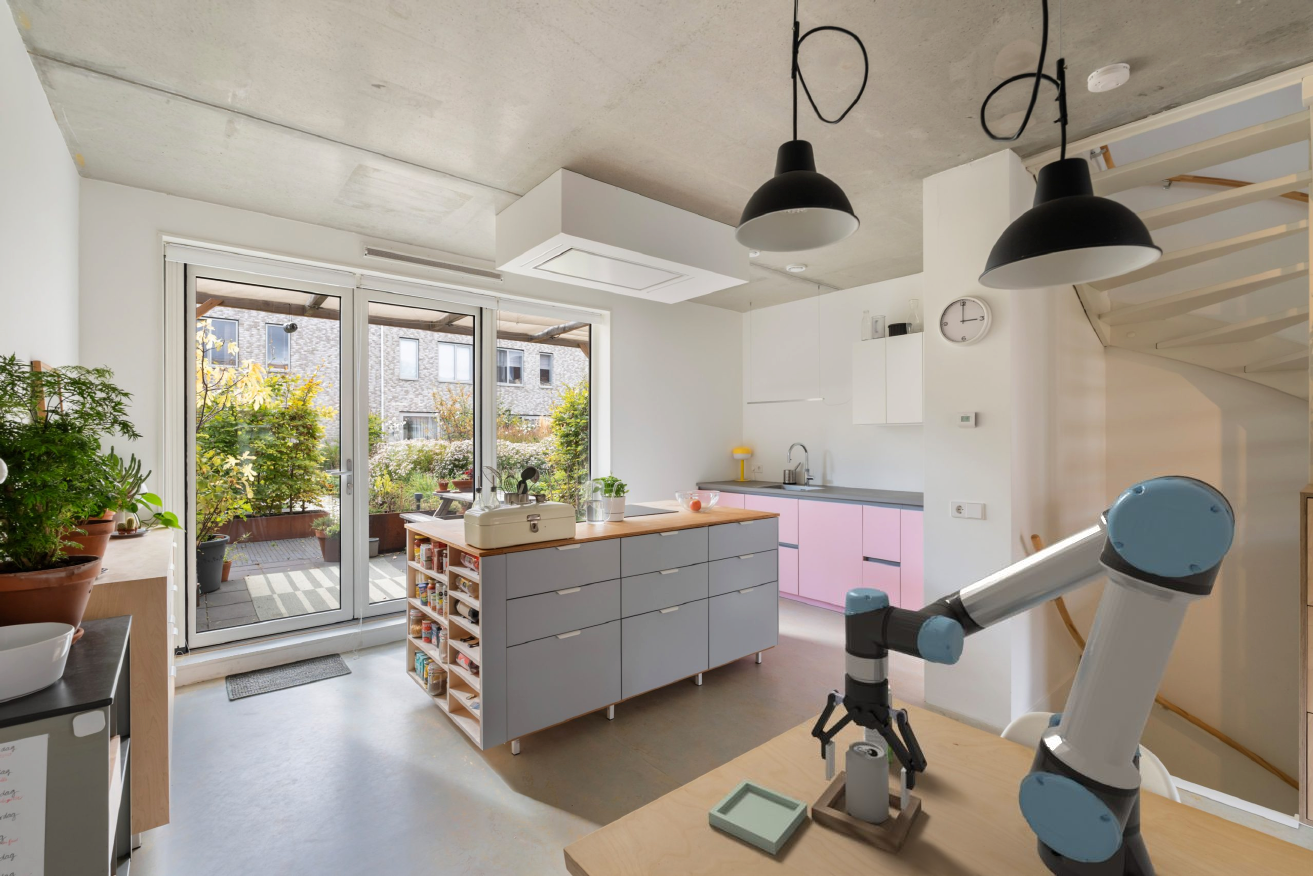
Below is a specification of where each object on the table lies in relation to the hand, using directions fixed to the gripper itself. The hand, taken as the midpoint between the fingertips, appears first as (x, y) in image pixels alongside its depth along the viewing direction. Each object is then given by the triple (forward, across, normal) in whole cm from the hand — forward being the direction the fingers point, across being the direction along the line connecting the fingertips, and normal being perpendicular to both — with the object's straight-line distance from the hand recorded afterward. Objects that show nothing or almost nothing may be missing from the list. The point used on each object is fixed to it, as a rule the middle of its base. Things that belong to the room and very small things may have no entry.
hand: (866, 790), depth 107 cm
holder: (+4, 0, 0) cm, 4 cm away
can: (+4, 0, 0) cm, 4 cm away
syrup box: (+4, +5, -22) cm, 23 cm away
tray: (+4, +15, +14) cm, 21 cm away
